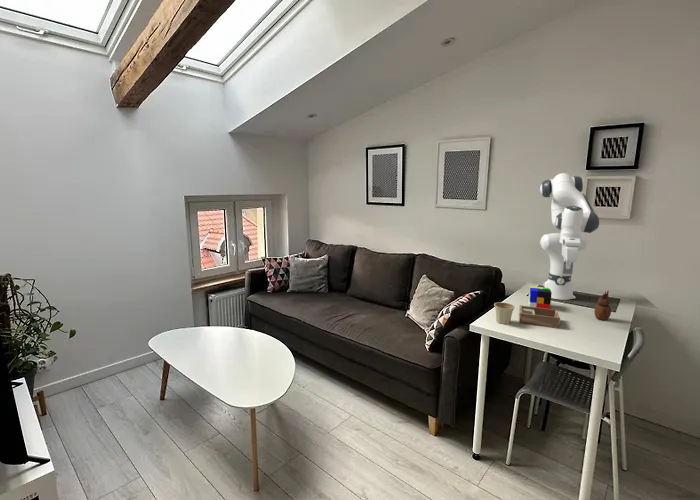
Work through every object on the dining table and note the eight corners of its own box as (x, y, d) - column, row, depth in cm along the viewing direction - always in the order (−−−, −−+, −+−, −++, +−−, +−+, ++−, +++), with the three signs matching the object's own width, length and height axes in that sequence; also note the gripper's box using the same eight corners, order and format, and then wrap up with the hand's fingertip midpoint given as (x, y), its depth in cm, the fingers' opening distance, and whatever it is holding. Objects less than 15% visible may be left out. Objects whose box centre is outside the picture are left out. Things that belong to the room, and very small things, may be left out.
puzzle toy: (529, 307, 200) (531, 290, 198) (528, 302, 209) (529, 286, 207) (549, 310, 196) (551, 292, 195) (547, 304, 206) (549, 287, 204)
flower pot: (504, 327, 173) (505, 309, 171) (488, 320, 181) (489, 304, 180) (517, 323, 177) (519, 306, 176) (501, 317, 185) (503, 301, 184)
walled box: (518, 314, 190) (519, 305, 189) (555, 319, 183) (556, 309, 182) (519, 322, 178) (520, 313, 177) (558, 328, 171) (560, 318, 170)
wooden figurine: (605, 317, 186) (609, 289, 184) (612, 321, 181) (616, 292, 178) (591, 316, 187) (594, 288, 184) (597, 320, 181) (601, 292, 179)
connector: (561, 271, 181) (562, 258, 180) (570, 272, 180) (571, 258, 178) (562, 273, 178) (563, 259, 176) (572, 274, 176) (573, 260, 175)
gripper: (559, 236, 186) (557, 262, 189) (565, 242, 168) (562, 271, 170) (574, 237, 184) (571, 263, 186) (581, 243, 165) (577, 272, 168)
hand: (566, 267), depth 178 cm, fingers closed on connector, 4 cm apart
